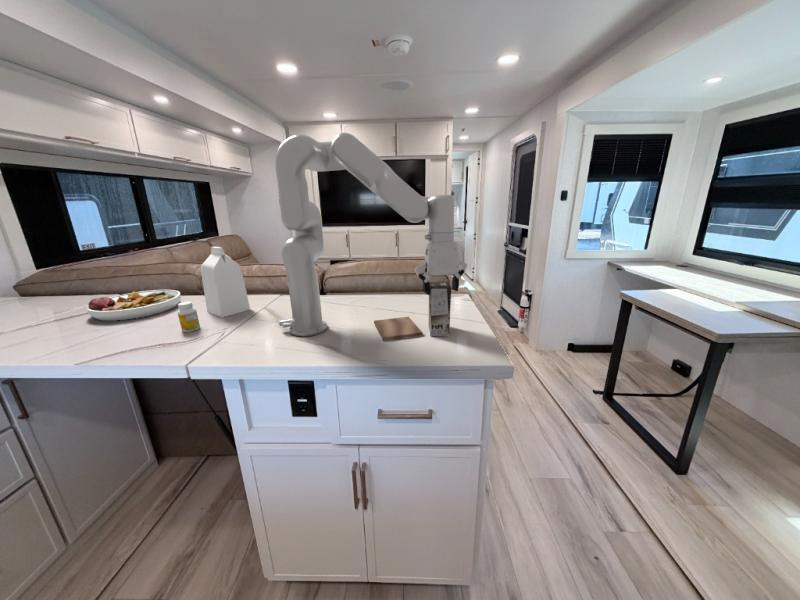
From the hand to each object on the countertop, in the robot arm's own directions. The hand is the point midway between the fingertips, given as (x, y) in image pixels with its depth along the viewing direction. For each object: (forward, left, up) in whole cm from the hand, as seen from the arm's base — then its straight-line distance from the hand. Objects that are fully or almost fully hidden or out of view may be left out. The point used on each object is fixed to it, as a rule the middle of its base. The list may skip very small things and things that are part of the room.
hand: (441, 291), depth 98 cm
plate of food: (-112, +59, -14) cm, 127 cm away
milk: (-74, +46, -14) cm, 89 cm away
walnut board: (-13, +6, -14) cm, 20 cm away
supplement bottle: (-82, +28, -14) cm, 88 cm away
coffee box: (-1, 0, -14) cm, 14 cm away
